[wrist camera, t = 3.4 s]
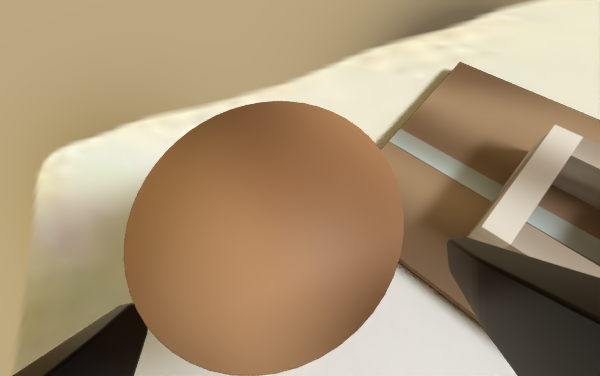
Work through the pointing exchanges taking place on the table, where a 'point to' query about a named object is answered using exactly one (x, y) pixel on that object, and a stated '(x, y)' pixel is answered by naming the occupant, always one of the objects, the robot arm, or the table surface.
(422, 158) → the brown board with rail
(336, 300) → the tapered tan cup
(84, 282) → the table surface
